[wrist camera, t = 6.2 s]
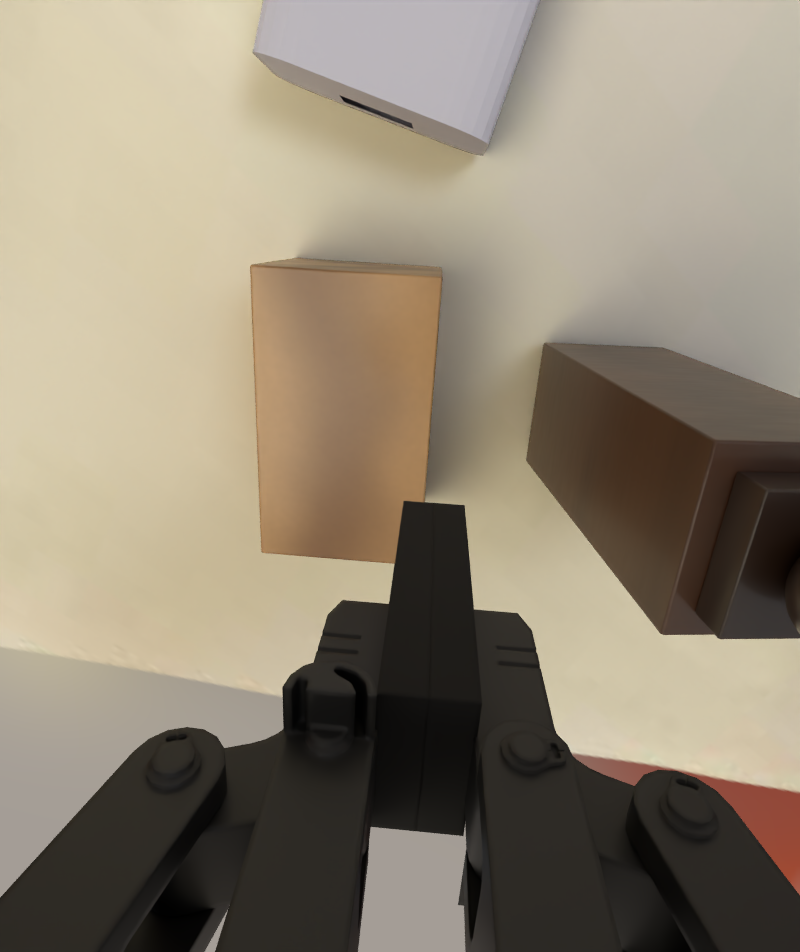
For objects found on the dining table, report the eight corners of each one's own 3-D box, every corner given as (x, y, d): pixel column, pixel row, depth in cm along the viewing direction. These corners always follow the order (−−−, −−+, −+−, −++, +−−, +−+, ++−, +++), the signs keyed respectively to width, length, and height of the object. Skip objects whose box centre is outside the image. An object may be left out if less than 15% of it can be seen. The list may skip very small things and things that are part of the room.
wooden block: (442, 267, 27) (442, 276, 21) (423, 499, 32) (419, 566, 25) (294, 257, 28) (249, 264, 21) (296, 489, 32) (260, 553, 26)
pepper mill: (601, 336, 30) (1065, 421, 19) (581, 444, 33) (983, 581, 21) (402, 357, 22) (1007, 533, 10) (394, 500, 25) (883, 776, 13)
